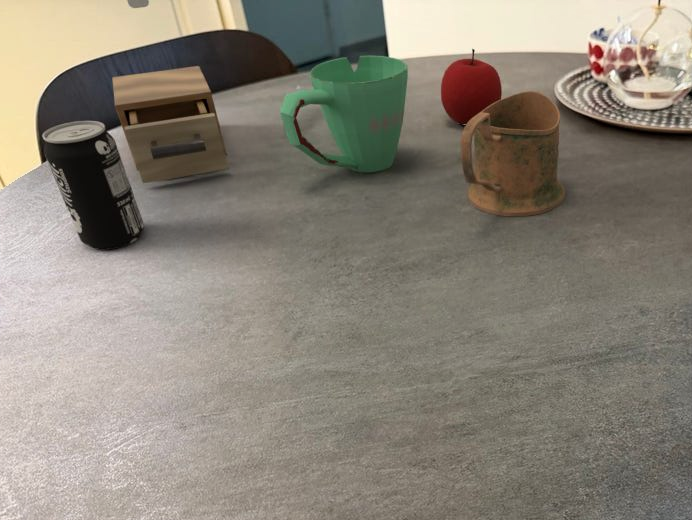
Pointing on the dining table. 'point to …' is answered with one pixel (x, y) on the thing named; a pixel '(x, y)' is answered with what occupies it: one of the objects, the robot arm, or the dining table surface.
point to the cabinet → (161, 92)
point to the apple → (469, 88)
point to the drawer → (175, 141)
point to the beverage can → (93, 184)
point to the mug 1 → (354, 111)
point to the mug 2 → (514, 156)
